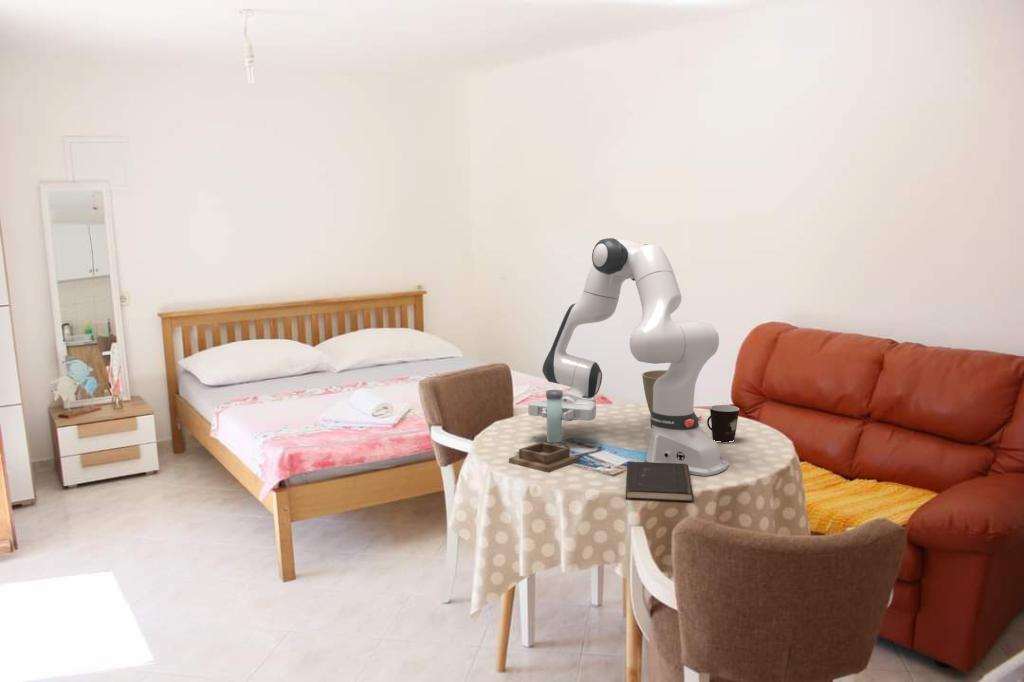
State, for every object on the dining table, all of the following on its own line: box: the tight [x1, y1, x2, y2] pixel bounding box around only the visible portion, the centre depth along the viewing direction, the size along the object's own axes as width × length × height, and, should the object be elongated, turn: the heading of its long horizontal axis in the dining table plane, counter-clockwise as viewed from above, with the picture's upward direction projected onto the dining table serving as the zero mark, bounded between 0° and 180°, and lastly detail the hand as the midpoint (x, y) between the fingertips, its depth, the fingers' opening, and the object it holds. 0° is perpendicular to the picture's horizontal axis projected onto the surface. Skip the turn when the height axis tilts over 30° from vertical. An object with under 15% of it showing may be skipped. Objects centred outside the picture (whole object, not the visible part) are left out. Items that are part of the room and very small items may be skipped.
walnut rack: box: [508, 441, 581, 473], centre depth 236 cm, size 14×14×4 cm
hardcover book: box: [625, 461, 694, 503], centre depth 214 cm, size 16×23×2 cm
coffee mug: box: [706, 404, 740, 442], centre depth 256 cm, size 12×9×10 cm
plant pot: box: [641, 369, 668, 415], centre depth 279 cm, size 15×15×16 cm
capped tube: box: [545, 389, 564, 443], centre depth 247 cm, size 5×5×15 cm
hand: (553, 415), depth 246 cm, fingers closed on capped tube, 4 cm apart
